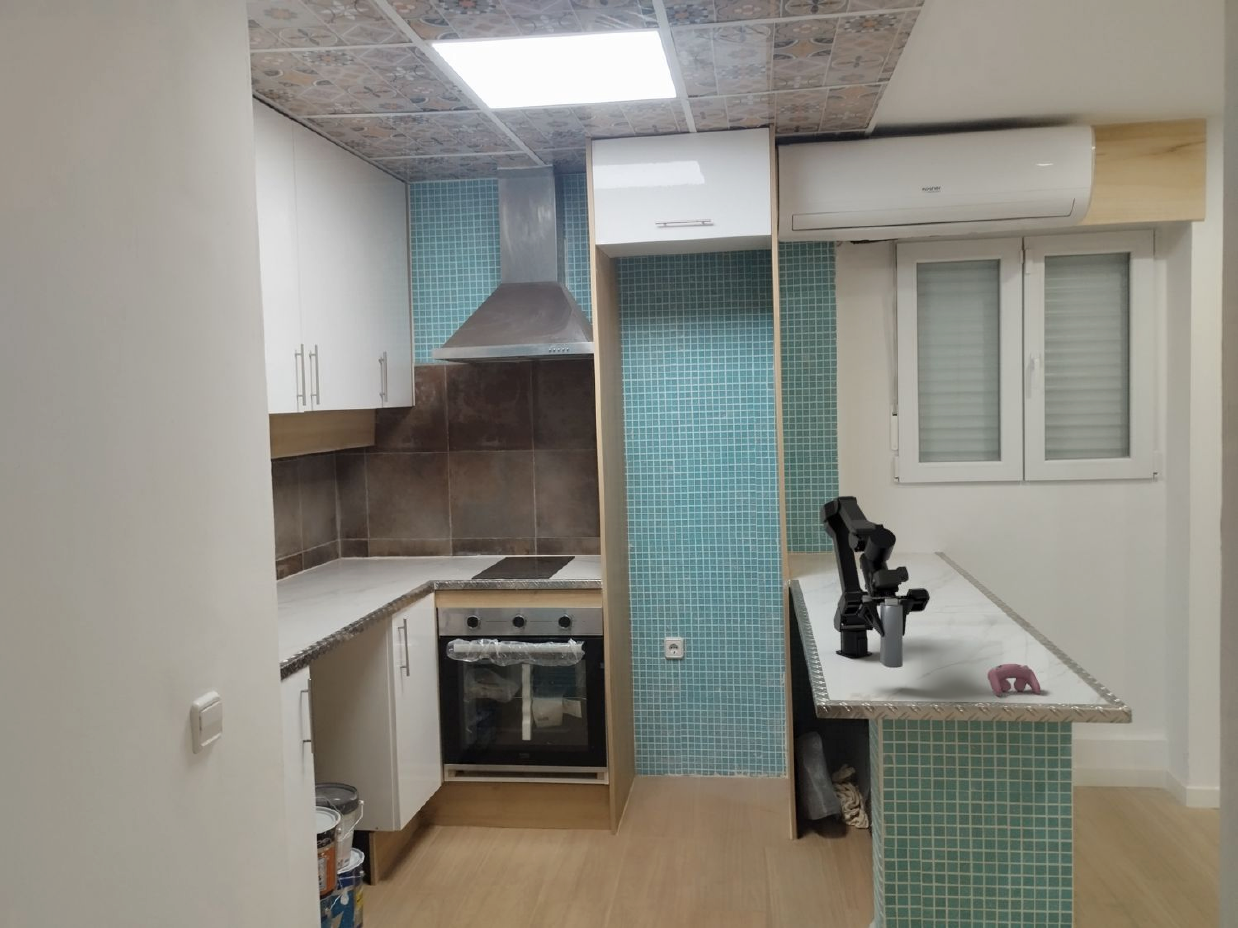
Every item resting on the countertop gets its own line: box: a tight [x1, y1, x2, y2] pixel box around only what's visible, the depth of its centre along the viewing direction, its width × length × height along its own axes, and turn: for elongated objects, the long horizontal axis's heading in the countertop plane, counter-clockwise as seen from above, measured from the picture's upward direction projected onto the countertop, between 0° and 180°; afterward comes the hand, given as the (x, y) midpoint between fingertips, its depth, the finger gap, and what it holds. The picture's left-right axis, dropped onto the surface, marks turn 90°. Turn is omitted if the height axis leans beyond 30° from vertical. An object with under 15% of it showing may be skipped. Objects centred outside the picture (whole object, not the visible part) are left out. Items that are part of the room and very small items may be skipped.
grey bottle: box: [879, 598, 904, 669], centre depth 218 cm, size 6×4×14 cm, turn 3°
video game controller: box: [987, 663, 1042, 698], centre depth 213 cm, size 10×5×7 cm, turn 93°
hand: (893, 635), depth 216 cm, fingers closed on grey bottle, 4 cm apart
